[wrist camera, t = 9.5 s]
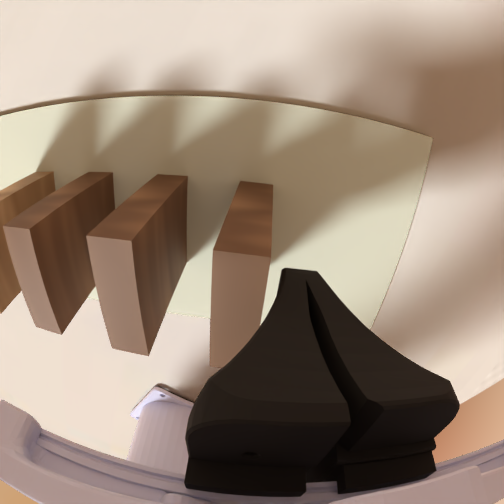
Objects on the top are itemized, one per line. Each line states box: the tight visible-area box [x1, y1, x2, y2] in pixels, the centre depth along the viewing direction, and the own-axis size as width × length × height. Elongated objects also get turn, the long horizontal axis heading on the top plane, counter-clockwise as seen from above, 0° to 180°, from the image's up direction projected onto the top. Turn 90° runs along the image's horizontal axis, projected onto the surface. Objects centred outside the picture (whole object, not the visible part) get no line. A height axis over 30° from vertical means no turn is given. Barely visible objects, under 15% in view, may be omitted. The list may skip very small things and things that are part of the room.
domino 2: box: [3, 172, 115, 335], centre depth 12 cm, size 2×5×7 cm, turn 174°
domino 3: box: [86, 174, 188, 356], centre depth 12 cm, size 2×5×7 cm, turn 175°
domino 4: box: [210, 181, 273, 368], centre depth 12 cm, size 2×5×7 cm, turn 174°
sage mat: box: [0, 96, 433, 330], centre depth 16 cm, size 30×13×1 cm, turn 84°
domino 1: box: [0, 171, 56, 314], centre depth 12 cm, size 2×5×7 cm, turn 174°
